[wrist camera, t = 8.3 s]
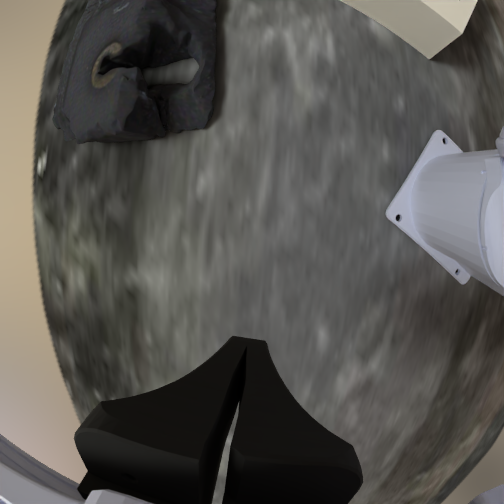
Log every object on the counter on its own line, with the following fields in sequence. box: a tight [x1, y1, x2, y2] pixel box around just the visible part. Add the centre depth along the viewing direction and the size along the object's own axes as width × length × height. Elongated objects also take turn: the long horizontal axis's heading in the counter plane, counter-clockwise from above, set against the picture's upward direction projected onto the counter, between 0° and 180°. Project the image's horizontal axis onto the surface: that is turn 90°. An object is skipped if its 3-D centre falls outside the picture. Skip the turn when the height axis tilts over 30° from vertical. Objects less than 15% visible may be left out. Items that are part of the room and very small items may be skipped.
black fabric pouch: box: [53, 0, 217, 144], centre depth 15 cm, size 15×22×5 cm
